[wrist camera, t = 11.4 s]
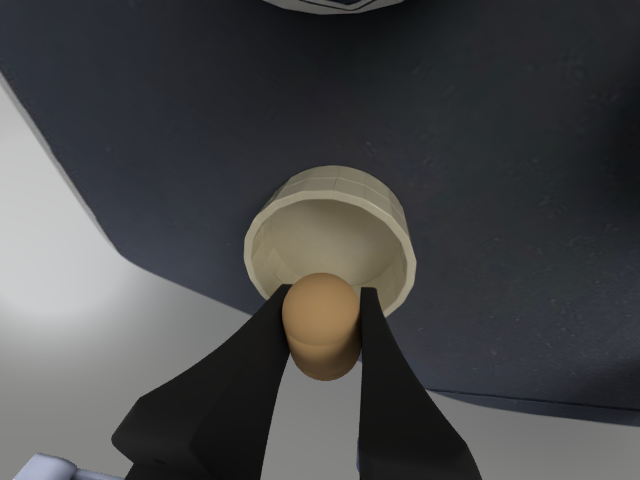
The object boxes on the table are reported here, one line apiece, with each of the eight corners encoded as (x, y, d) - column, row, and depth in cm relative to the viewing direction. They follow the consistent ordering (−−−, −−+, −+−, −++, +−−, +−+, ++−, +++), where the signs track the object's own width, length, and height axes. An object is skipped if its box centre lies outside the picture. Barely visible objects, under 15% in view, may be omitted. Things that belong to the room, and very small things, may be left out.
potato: (362, 336, 13) (360, 401, 11) (302, 331, 14) (286, 391, 11) (361, 257, 11) (358, 317, 8) (288, 256, 11) (262, 311, 9)
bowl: (402, 289, 17) (408, 333, 14) (280, 284, 19) (263, 323, 16) (413, 161, 13) (425, 187, 10) (252, 168, 14) (222, 193, 11)
